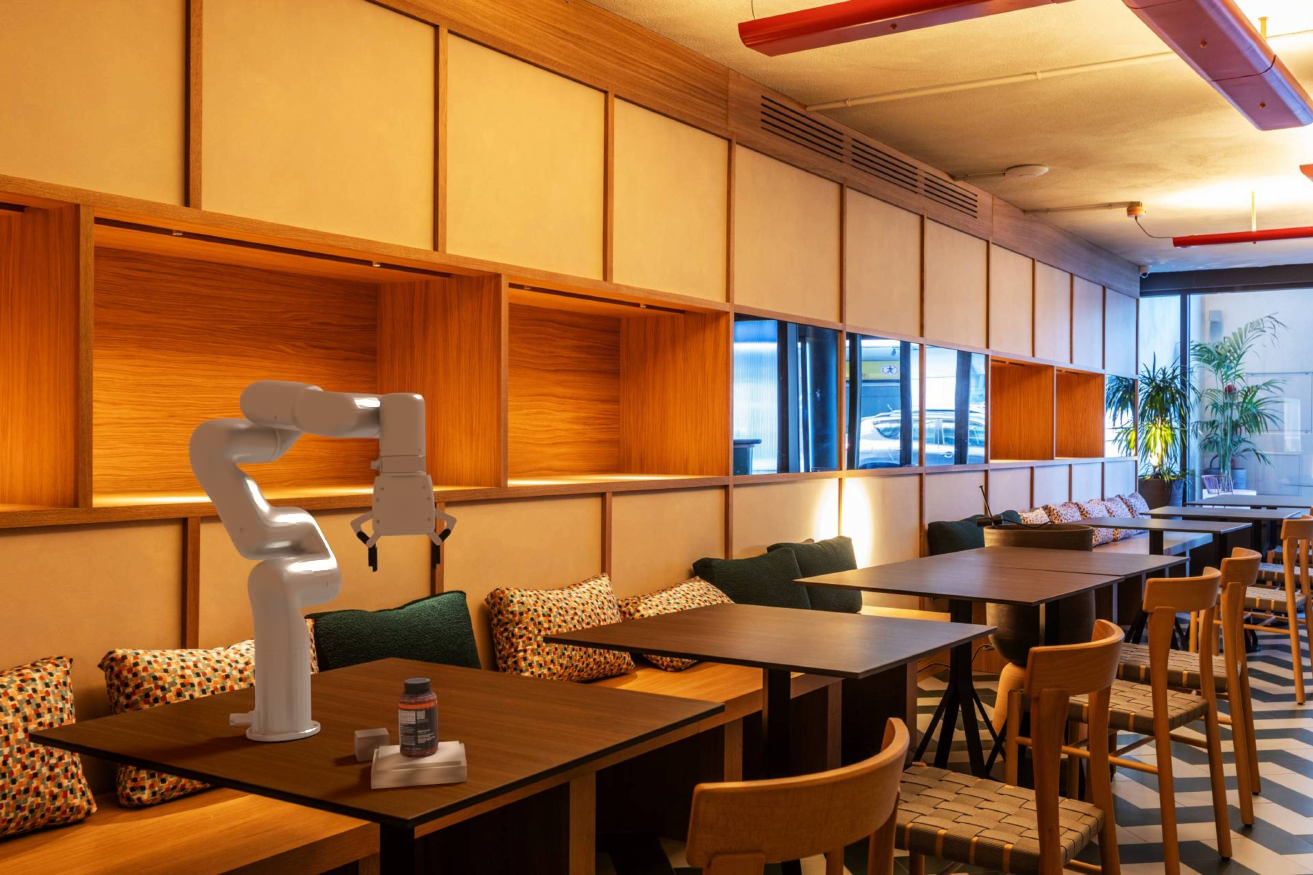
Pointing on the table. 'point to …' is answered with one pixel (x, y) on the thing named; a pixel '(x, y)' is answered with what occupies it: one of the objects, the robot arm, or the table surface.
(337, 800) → the table surface
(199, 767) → the table surface
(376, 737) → the beige block
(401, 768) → the stand
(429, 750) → the supplement bottle
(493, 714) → the table surface
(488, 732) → the table surface
